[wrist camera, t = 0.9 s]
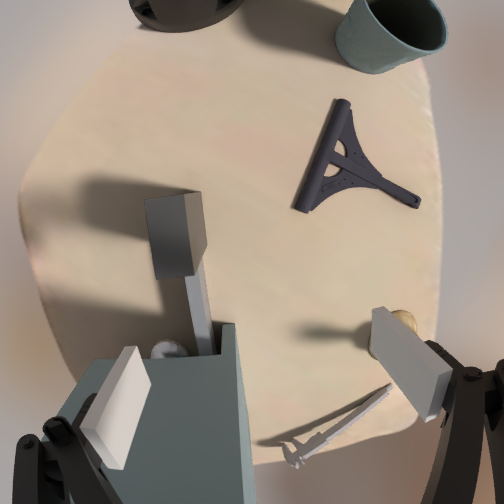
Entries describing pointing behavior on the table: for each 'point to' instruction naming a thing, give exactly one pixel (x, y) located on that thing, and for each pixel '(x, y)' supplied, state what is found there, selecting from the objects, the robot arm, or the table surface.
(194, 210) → the grey l-bracket
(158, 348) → the steel token
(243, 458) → the cabinet
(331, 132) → the dark squeegee
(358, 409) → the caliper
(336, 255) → the table surface
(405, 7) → the grey-green hollow cylinder
